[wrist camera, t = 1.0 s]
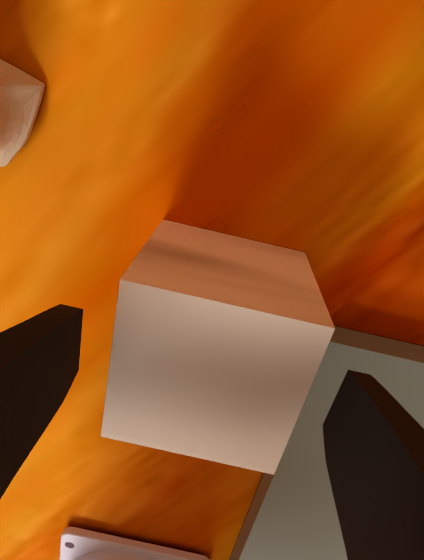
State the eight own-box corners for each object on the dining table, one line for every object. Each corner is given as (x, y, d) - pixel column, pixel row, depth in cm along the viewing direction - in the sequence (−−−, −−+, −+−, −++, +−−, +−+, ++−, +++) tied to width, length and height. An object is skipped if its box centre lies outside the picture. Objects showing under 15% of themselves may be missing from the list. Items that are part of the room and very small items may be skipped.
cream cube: (265, 365, 15) (273, 474, 11) (143, 337, 15) (100, 436, 11) (304, 251, 13) (335, 328, 9) (163, 218, 13) (120, 279, 9)
